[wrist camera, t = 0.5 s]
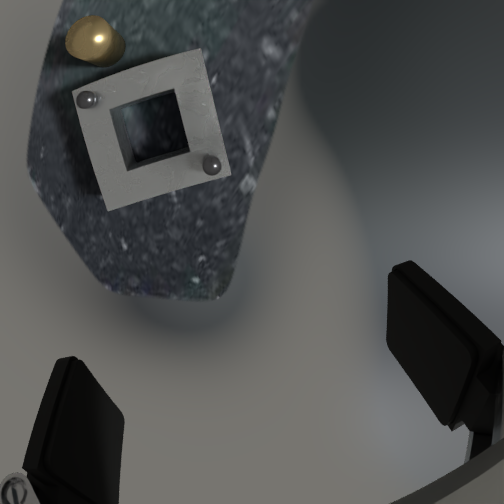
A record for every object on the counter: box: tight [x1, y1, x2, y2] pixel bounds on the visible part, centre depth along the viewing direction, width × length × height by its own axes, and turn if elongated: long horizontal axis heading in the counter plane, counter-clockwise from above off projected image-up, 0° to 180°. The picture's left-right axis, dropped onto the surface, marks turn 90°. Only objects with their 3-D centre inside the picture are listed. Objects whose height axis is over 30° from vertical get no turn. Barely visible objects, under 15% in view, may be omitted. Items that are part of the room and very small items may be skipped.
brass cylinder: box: [65, 15, 125, 67], centre depth 23 cm, size 4×4×7 cm
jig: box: [72, 48, 231, 211], centre depth 27 cm, size 12×12×7 cm
